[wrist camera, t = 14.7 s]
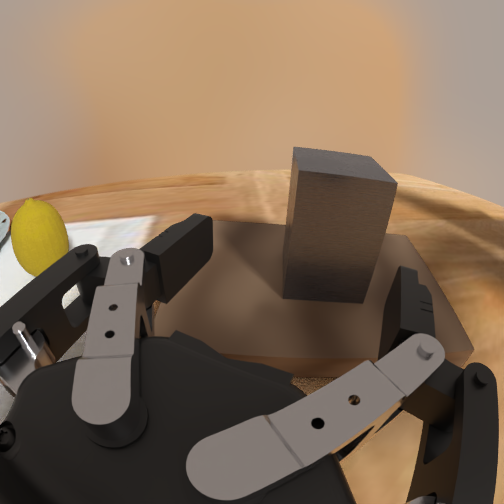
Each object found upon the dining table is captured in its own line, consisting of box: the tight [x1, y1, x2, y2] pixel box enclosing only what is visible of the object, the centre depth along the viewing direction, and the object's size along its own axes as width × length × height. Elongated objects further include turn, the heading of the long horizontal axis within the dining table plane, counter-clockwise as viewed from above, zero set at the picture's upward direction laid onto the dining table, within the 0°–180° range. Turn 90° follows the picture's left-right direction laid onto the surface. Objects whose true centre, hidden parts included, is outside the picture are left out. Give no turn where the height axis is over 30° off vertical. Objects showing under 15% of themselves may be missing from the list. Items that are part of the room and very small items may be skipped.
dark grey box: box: [283, 147, 398, 304], centre depth 21 cm, size 6×6×9 cm
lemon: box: [11, 198, 69, 277], centre depth 22 cm, size 6×6×8 cm
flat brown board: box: [154, 220, 474, 377], centre depth 22 cm, size 22×16×7 cm
